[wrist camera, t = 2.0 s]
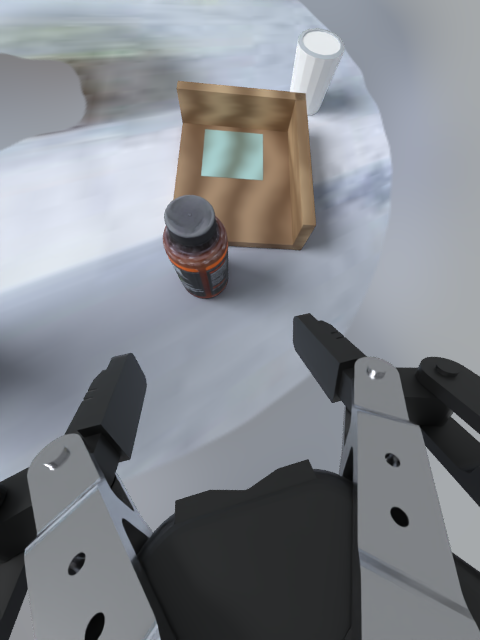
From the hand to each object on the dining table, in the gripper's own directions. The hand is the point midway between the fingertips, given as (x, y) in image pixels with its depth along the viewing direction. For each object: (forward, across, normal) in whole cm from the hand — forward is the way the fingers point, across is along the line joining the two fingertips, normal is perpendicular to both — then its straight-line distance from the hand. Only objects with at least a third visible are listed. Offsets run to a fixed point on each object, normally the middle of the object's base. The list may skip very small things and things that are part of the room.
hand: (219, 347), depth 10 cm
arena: (+28, -8, -8) cm, 30 cm away
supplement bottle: (+18, 0, +3) cm, 18 cm away
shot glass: (+39, -23, -18) cm, 49 cm away
